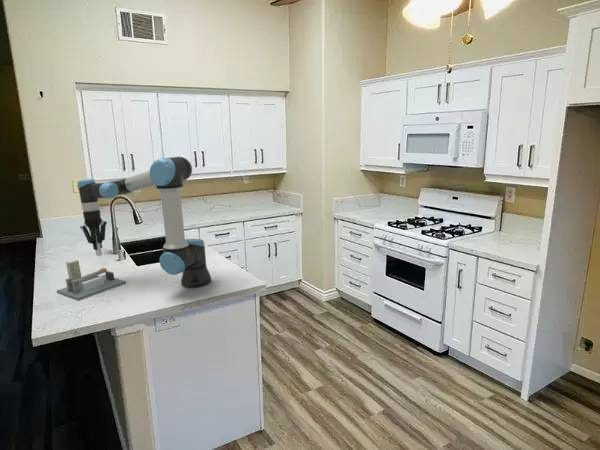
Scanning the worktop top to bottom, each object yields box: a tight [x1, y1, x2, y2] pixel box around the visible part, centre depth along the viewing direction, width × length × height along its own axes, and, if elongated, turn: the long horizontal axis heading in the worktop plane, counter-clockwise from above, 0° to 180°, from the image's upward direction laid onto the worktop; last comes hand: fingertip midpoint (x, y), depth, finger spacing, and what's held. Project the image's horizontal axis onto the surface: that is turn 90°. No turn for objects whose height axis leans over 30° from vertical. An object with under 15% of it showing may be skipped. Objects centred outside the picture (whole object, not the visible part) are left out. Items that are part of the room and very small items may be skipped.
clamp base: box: [56, 270, 127, 301], centre depth 199 cm, size 20×25×8 cm
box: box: [65, 259, 83, 280], centre depth 211 cm, size 5×4×11 cm
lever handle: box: [75, 267, 108, 282], centre depth 199 cm, size 3×16×2 cm, turn 147°
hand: (99, 255), depth 200 cm, fingers closed
